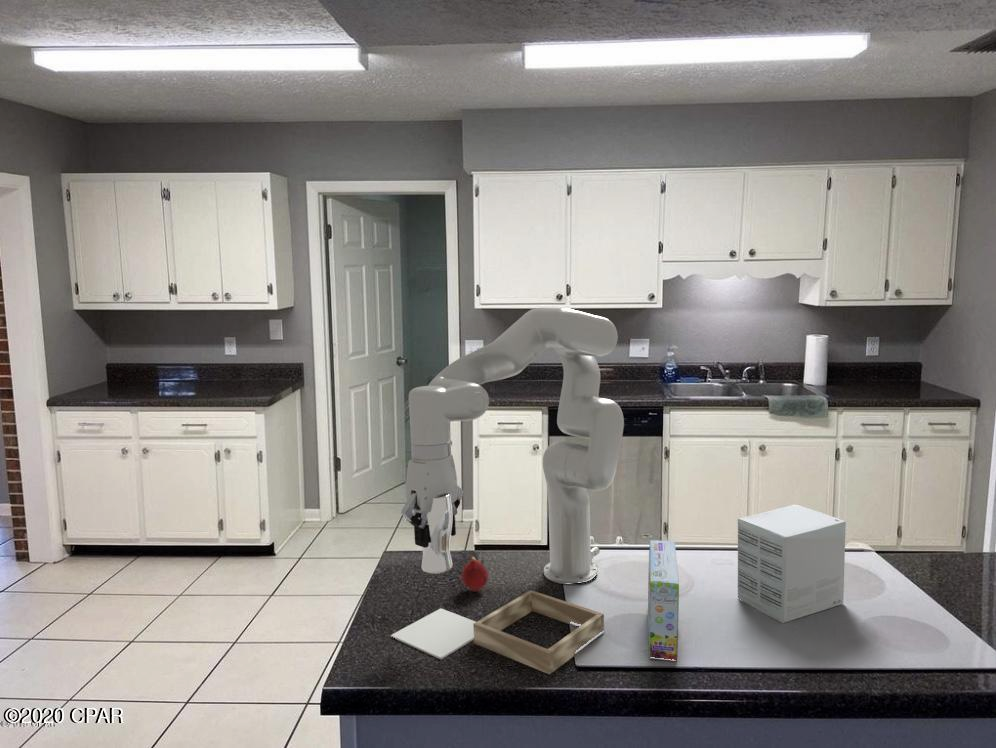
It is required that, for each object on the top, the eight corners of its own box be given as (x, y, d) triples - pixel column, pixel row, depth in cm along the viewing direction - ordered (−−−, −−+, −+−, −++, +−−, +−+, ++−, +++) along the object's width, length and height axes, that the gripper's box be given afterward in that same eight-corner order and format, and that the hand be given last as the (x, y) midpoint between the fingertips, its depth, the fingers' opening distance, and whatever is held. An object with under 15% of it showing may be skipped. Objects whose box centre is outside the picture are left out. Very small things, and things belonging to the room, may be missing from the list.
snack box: (680, 663, 128) (680, 583, 126) (648, 660, 129) (647, 582, 127) (675, 608, 149) (675, 539, 146) (648, 606, 150) (647, 538, 148)
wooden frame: (531, 607, 151) (530, 590, 150) (604, 633, 139) (603, 613, 139) (474, 643, 138) (473, 623, 137) (549, 674, 126) (548, 653, 125)
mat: (440, 610, 152) (440, 608, 152) (490, 629, 143) (490, 627, 143) (390, 636, 141) (390, 635, 141) (441, 659, 132) (441, 657, 132)
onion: (492, 588, 161) (491, 554, 160) (481, 598, 156) (480, 564, 155) (469, 584, 164) (468, 551, 163) (458, 594, 159) (456, 560, 158)
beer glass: (461, 564, 141) (458, 490, 139) (440, 577, 135) (437, 500, 133) (433, 557, 145) (430, 486, 143) (412, 570, 139) (408, 495, 137)
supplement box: (793, 581, 159) (795, 502, 157) (845, 604, 147) (848, 520, 145) (734, 598, 152) (735, 517, 149) (783, 625, 140) (785, 537, 137)
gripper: (448, 439, 146) (452, 523, 148) (383, 457, 133) (389, 549, 135) (476, 444, 141) (479, 530, 143) (411, 463, 128) (416, 558, 130)
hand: (435, 539), depth 139 cm, fingers closed on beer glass, 6 cm apart
